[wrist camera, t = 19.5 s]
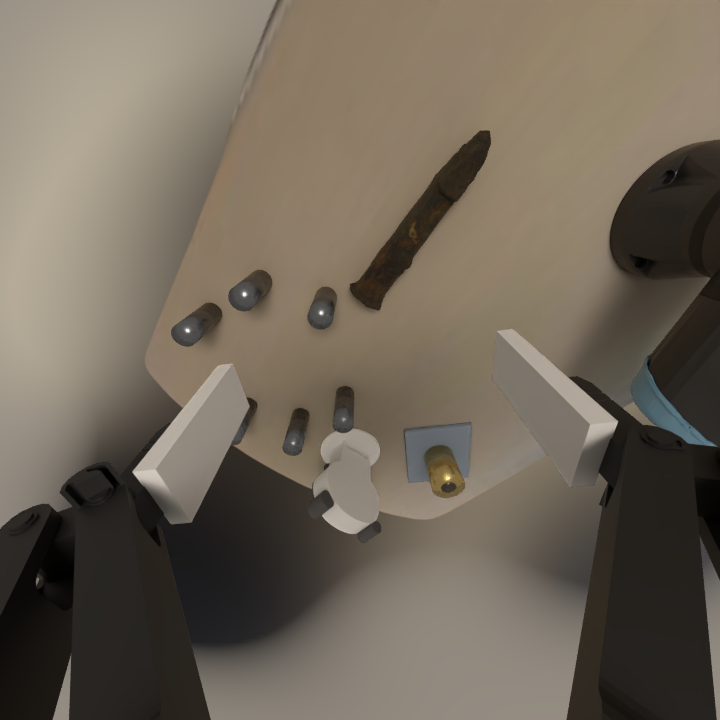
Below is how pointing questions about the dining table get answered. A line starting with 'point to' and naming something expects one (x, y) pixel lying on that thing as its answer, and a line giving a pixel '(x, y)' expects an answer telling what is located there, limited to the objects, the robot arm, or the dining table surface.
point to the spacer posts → (244, 300)
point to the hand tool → (421, 221)
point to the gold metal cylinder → (443, 472)
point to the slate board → (429, 437)
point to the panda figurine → (348, 484)
